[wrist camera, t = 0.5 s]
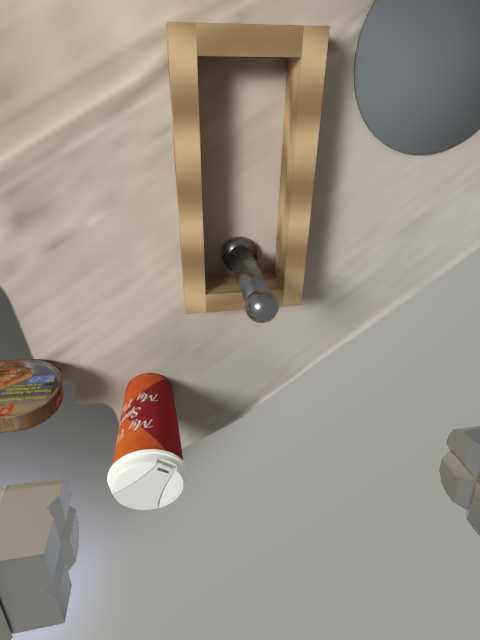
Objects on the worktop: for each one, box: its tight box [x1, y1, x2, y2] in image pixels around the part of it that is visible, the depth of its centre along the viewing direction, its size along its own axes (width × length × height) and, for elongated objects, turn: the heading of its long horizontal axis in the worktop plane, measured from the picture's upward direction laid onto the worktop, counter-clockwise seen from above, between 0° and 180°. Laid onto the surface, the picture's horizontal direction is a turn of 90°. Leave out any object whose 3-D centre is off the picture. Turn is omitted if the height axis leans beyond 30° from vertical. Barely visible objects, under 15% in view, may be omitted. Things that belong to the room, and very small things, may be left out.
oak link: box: [166, 22, 330, 314], centre depth 39 cm, size 24×12×4 cm, turn 0°
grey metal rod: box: [222, 237, 279, 323], centre depth 39 cm, size 4×4×13 cm
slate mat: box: [354, 0, 480, 155], centre depth 38 cm, size 16×16×1 cm
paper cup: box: [107, 373, 188, 510], centre depth 46 cm, size 8×8×14 cm
